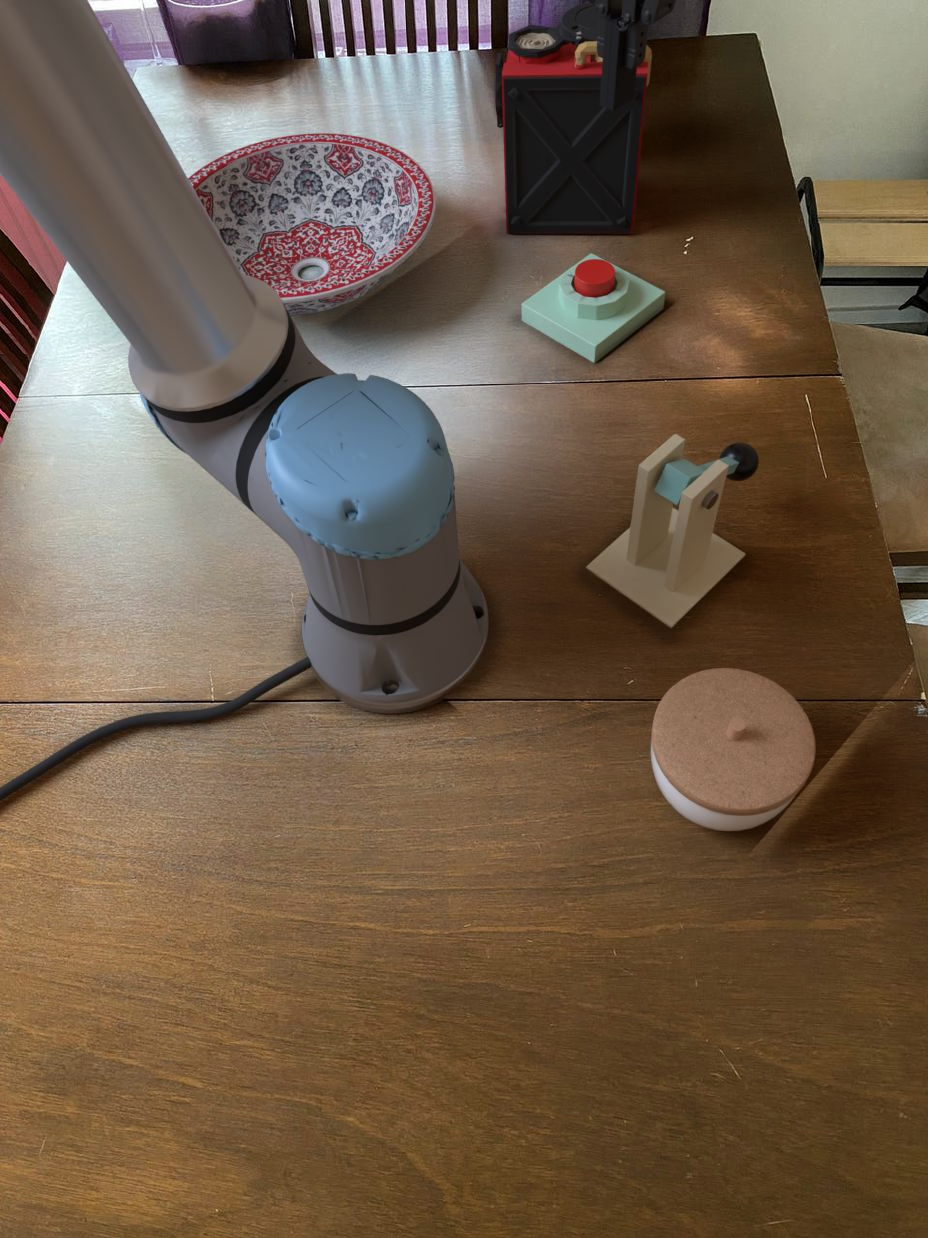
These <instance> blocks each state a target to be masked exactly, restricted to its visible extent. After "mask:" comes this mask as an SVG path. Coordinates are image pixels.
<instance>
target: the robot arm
mask: <svg viewBox="0 0 928 1238" xmlns="http://www.w3.org/2000/svg"><path fill="white" fill-rule="evenodd" d="M676 1H677V0H581V2H583V3H591V4H592V5H594V6H595V9H596V13H597V15H598V16H599V19H598V37H597V41H598V42H597V53H598V57H601V58H603V61H602V76H601V91H600V106H602V107H605V108H607V109H609V110H612V111H615V110H616V109H618V108H619V107H621V106H622V105H624V104H625V103H627V102H629V101H630V100H632V99H633V98H634V94H635V84H636V73H637V66H638V65H639V64H641V63H643V61H644V58H645V55H646V45H647V43H648V36H649V35H648V34H649V26H651V25H654V23H656V22H658V21H660V20H662V19H663V18H665V17H666V16H668V15H670V14H671V13H672V12H673V10H674V8H675V5H676ZM647 46H648V45H647ZM0 176H1V178H3V180H4V181H5V182H6V184H7V185H8V187H9V188H10V189H11V190H12V192H13V193H14V194H15V195H16V197H17V198H18V199H19V201H20V202H21V203H22V205H23V206H24V207H25V209H26V210H27V212H28V213H29V214H30V215H31V216H32V218H33V219H34V220H35V222H36V223H37V224H38V225H39V227H40V228H41V229H42V230H43V232H44V233H45V235H46V236H47V237H48V238H49V240H50V241H51V242H52V244H53V245H54V246H55V248H56V249H57V250H58V251H59V253H60V254H61V256H62V257H63V258H64V260H66V262H67V263H68V264H69V266H70V267H71V268H72V270H73V271H74V272H75V273H76V275H77V276H78V277H79V279H80V280H81V281H82V282H83V284H84V286H85V287H86V288H87V289H88V291H89V292H90V293H91V294H92V296H93V297H94V298H95V300H96V301H97V302H98V303H99V305H100V306H101V307H102V309H103V310H104V312H106V314H107V316H109V318H110V319H111V320H112V321H113V323H114V325H116V327H117V328H118V329H119V331H120V332H121V333H122V335H123V336H124V337H125V338H126V340H127V341H128V343H130V345H129V349H128V356H127V360H128V361H127V363H128V364H127V365H128V371H129V375H130V378H131V381H132V383H133V385H134V386H135V387H136V389H137V390H138V392H139V396H140V398H141V402H142V405H143V407H144V408H145V410H146V412H147V414H148V415H149V417H150V418H151V420H152V421H153V422H154V424H155V426H156V427H157V429H158V430H159V431H160V433H161V434H162V436H164V437H165V439H167V441H169V442H170V443H171V444H172V445H173V446H175V447H176V448H177V449H178V450H179V451H181V452H183V453H184V454H186V455H188V456H189V457H190V458H191V459H192V460H193V461H194V462H195V463H197V464H198V465H199V466H200V467H201V468H202V469H204V471H206V472H207V474H209V475H210V476H211V477H212V478H213V479H215V480H216V482H218V483H219V484H220V485H221V486H223V487H224V489H226V490H227V491H228V492H230V494H232V495H233V497H235V498H236V499H237V500H239V502H241V504H243V505H244V506H245V507H246V508H247V509H248V510H249V511H251V513H253V514H254V515H255V516H256V517H257V518H258V519H260V521H261V522H263V523H264V524H265V525H266V527H268V528H269V529H270V530H272V531H273V532H274V533H275V534H276V535H277V536H278V537H279V538H280V539H281V540H283V541H284V542H285V543H286V545H287V546H288V547H289V548H290V549H291V550H292V552H293V554H294V555H295V556H296V558H297V559H298V562H299V565H300V569H301V572H302V574H303V577H304V580H305V584H306V587H307V589H308V598H307V601H306V603H305V607H304V610H303V614H302V622H301V642H302V647H303V651H304V654H305V657H304V658H302V659H300V660H299V661H297V662H295V663H293V664H291V665H290V666H288V667H286V668H284V669H282V670H280V671H279V672H277V673H275V674H273V675H271V676H270V677H268V678H266V679H265V680H262V681H261V682H259V683H258V684H256V685H254V686H253V687H251V688H250V689H249V690H247V691H246V692H244V693H242V694H241V695H239V696H237V697H235V698H234V699H232V700H229V701H227V702H224V703H222V704H218V705H215V706H211V707H208V708H201V709H194V710H181V711H160V712H159V711H157V712H148V713H142V714H135V715H133V716H128V717H125V718H121V719H119V720H118V719H117V720H115V721H113V722H110V723H108V724H105V725H103V726H100V727H98V728H96V729H94V730H92V731H89V732H88V733H86V734H84V735H82V736H81V737H79V738H77V739H75V740H73V741H72V742H70V743H69V744H67V745H65V746H64V747H62V748H60V749H59V750H58V751H56V752H54V753H53V754H51V755H49V756H48V757H46V758H45V759H44V760H42V761H40V762H39V763H38V764H35V765H33V767H31V768H29V769H27V770H25V771H24V772H23V773H21V774H19V775H18V776H16V777H14V778H12V779H11V780H9V781H8V782H6V783H5V784H3V785H1V786H0V802H2V801H3V800H5V799H6V798H8V797H9V796H11V795H13V794H15V793H16V792H18V791H20V790H21V789H23V788H24V787H25V786H27V785H28V784H30V783H32V782H34V781H35V780H37V779H39V778H40V777H42V776H43V775H45V774H46V773H48V772H50V771H51V770H53V769H54V768H56V767H57V766H59V765H60V764H62V763H64V762H65V761H67V760H69V759H70V758H71V757H73V756H75V755H77V754H78V753H79V752H81V751H83V750H84V749H86V748H88V747H90V746H92V745H93V744H95V743H97V742H99V741H102V740H104V739H106V738H109V737H111V736H114V735H116V734H119V733H121V732H124V731H126V730H130V729H134V728H138V727H143V726H150V725H161V724H163V725H164V724H182V723H185V724H186V723H196V722H203V721H209V720H214V719H217V718H220V717H224V716H228V715H229V714H232V713H235V712H237V711H239V710H241V709H243V708H245V707H247V706H248V705H250V704H251V703H253V702H254V701H255V700H258V699H259V698H261V696H263V695H265V694H266V693H268V692H270V691H271V690H273V689H275V688H276V687H278V686H280V685H282V684H284V683H286V682H288V681H289V680H291V679H293V678H295V677H297V676H298V675H300V674H302V673H304V672H305V671H307V670H309V669H311V671H312V673H313V675H314V677H315V679H316V680H317V681H318V682H319V683H320V685H321V686H322V687H323V688H324V689H325V690H326V691H327V692H328V693H329V694H331V695H332V696H333V697H334V698H336V699H337V700H339V701H340V702H343V704H344V703H345V705H348V706H351V707H353V708H355V709H358V710H362V711H366V712H371V713H375V714H376V713H377V714H390V715H391V714H393V715H394V714H405V713H410V712H416V711H420V710H423V709H426V708H428V707H431V706H433V705H436V704H439V703H441V702H442V701H444V700H445V699H446V698H445V697H444V695H446V694H448V693H450V692H451V691H452V690H453V689H455V688H456V687H457V686H459V685H460V684H461V683H462V682H463V681H464V680H466V678H467V677H468V676H469V675H470V674H471V673H472V672H473V671H474V669H475V668H476V666H477V665H478V663H479V661H480V660H481V658H482V656H483V653H484V651H485V648H486V645H487V642H488V638H489V629H490V628H489V627H490V622H489V610H488V609H489V608H488V604H487V600H486V598H485V595H484V593H483V590H482V588H481V586H480V585H479V584H478V581H477V580H476V578H475V577H474V576H473V574H472V573H471V572H470V570H469V569H468V567H467V566H466V564H465V563H464V561H463V560H462V559H461V557H460V545H459V544H460V543H459V531H458V518H457V517H458V516H457V505H456V492H455V491H456V487H455V480H456V479H455V478H456V477H455V470H454V469H455V468H454V464H453V461H452V458H451V454H450V452H449V448H448V444H447V440H446V437H445V433H444V431H443V428H442V426H441V424H440V422H439V420H438V418H437V417H436V415H435V413H434V411H432V409H431V407H429V405H428V404H427V403H426V402H425V401H424V400H423V399H422V398H421V397H419V396H418V394H416V393H415V392H413V391H412V390H411V389H409V388H407V387H406V386H404V385H402V384H401V383H399V382H396V381H394V380H391V379H389V378H385V377H383V376H378V375H374V374H370V375H368V376H367V378H366V379H361V380H360V379H359V378H358V376H357V374H356V373H352V372H347V373H346V372H345V373H336V372H335V371H334V370H333V369H331V368H330V367H328V366H327V365H326V364H325V363H323V362H322V361H320V360H319V358H317V357H316V356H315V354H313V353H312V351H311V349H310V348H309V347H308V345H307V344H306V343H305V340H304V338H303V337H302V335H301V333H300V331H299V329H298V328H297V325H296V323H295V322H294V320H293V318H292V316H291V314H289V312H288V311H287V309H286V307H285V305H284V303H283V301H282V300H281V298H280V297H279V295H278V294H277V292H276V291H275V290H274V289H273V288H272V287H271V286H269V285H268V284H266V283H265V282H263V281H261V280H259V279H257V278H254V277H251V276H248V275H242V273H241V272H240V270H239V268H238V266H237V265H236V263H235V261H234V259H233V258H232V256H231V254H230V252H229V250H228V249H227V247H226V245H225V243H224V242H223V240H222V238H221V236H220V234H219V233H218V231H217V229H216V227H215V226H214V224H213V222H212V220H211V218H210V217H209V215H208V213H207V211H206V210H205V208H204V206H203V204H202V202H201V201H200V199H199V197H198V195H197V194H196V192H195V190H194V188H193V187H192V185H191V183H190V181H189V179H188V178H189V177H188V176H187V174H186V172H185V171H184V169H183V167H182V166H181V163H180V162H179V160H178V158H177V156H176V155H175V153H174V151H173V149H172V147H171V146H170V143H169V142H168V140H167V138H166V137H165V135H164V132H162V130H161V128H160V126H159V124H158V123H157V121H156V119H155V117H154V115H153V114H152V112H151V111H150V108H149V106H148V105H147V103H146V102H145V99H144V98H143V96H142V94H141V93H140V91H139V89H138V87H137V85H136V84H135V81H134V80H133V78H132V77H131V75H130V73H129V71H128V70H127V67H126V66H125V64H124V62H123V61H122V58H121V57H120V55H119V54H118V51H117V50H116V48H115V46H114V44H113V43H112V41H111V39H110V37H109V36H108V34H107V32H106V30H105V29H104V27H103V25H102V23H101V22H100V20H99V18H98V16H97V15H96V12H95V11H94V9H93V7H92V5H91V4H90V2H89V0H0Z"/></svg>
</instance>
